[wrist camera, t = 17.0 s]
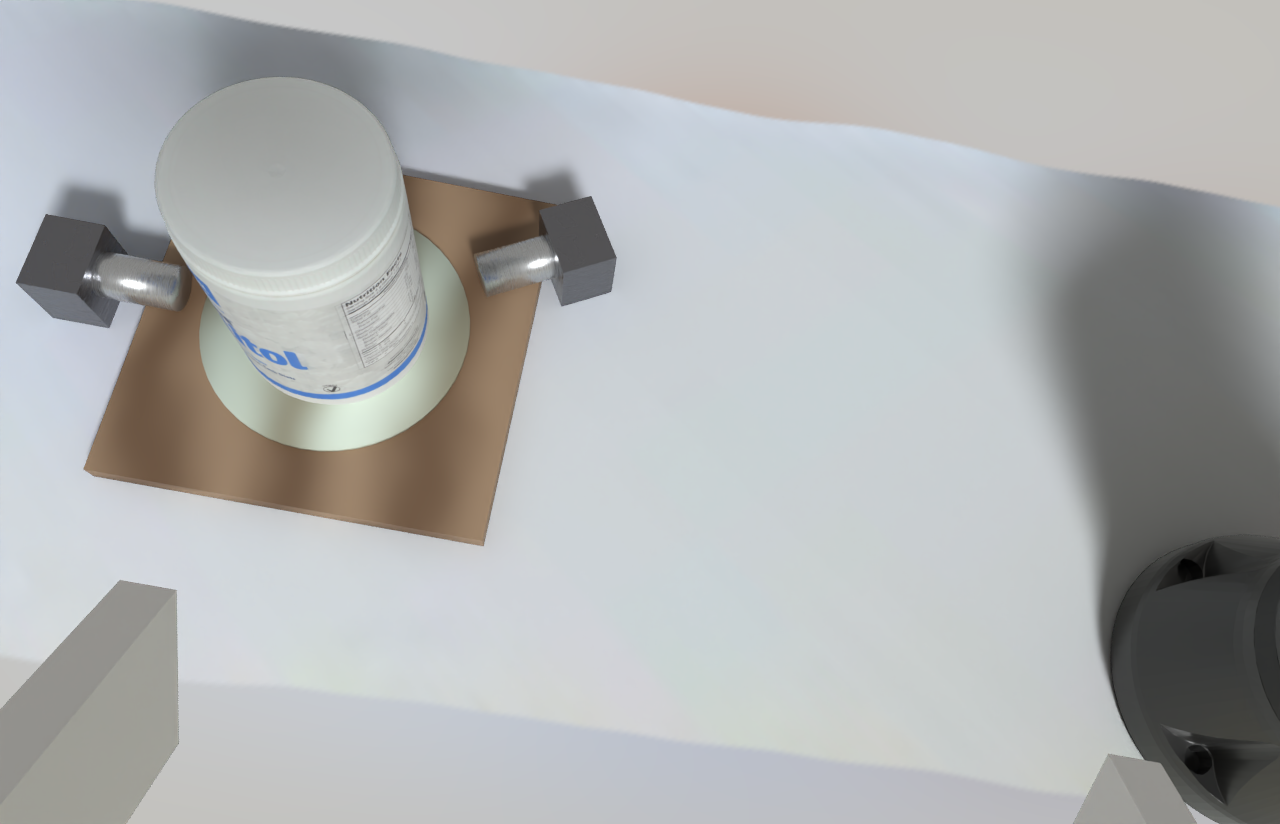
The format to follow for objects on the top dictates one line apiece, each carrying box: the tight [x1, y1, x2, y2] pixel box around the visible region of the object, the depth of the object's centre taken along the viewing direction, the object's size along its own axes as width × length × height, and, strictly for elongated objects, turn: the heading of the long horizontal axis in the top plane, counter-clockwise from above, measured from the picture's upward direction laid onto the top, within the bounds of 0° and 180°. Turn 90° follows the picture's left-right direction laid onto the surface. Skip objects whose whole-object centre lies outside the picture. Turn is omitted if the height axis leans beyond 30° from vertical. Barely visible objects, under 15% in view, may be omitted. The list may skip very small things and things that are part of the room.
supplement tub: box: [155, 77, 429, 405], centre depth 45 cm, size 10×10×15 cm
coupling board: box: [84, 175, 556, 546], centre depth 53 cm, size 20×20×2 cm
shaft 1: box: [16, 214, 192, 328], centre depth 51 cm, size 7×4×4 cm, turn 81°
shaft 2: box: [474, 196, 616, 306], centre depth 54 cm, size 7×4×4 cm, turn 111°
